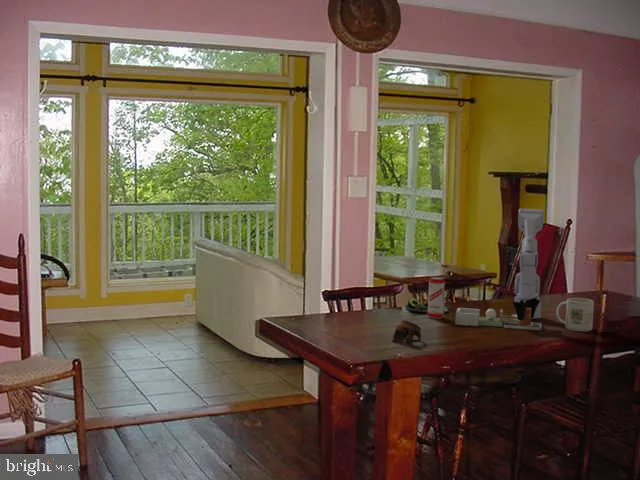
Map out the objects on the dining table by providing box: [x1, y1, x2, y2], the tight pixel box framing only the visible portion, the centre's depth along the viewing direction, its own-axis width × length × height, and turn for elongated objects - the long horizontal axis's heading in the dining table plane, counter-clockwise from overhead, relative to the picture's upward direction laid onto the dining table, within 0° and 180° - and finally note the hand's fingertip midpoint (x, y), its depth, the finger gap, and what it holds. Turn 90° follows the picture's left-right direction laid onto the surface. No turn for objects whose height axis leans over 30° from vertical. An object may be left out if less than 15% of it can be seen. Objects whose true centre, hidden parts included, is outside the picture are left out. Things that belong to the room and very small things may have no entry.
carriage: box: [499, 308, 534, 327], centre depth 294 cm, size 12×6×7 cm, turn 76°
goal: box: [454, 307, 481, 327], centre depth 298 cm, size 8×11×4 cm
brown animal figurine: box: [391, 319, 422, 345], centre depth 263 cm, size 12×10×8 cm
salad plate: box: [405, 297, 452, 315], centre depth 322 cm, size 19×18×5 cm
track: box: [478, 316, 543, 331], centre depth 295 cm, size 24×9×2 cm, turn 76°
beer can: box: [427, 276, 446, 320], centre depth 305 cm, size 6×6×16 cm
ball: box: [485, 308, 497, 319], centre depth 296 cm, size 4×4×4 cm
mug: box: [555, 297, 595, 332], centre depth 293 cm, size 10×12×11 cm
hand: (525, 319), depth 293 cm, fingers open, 6 cm apart
